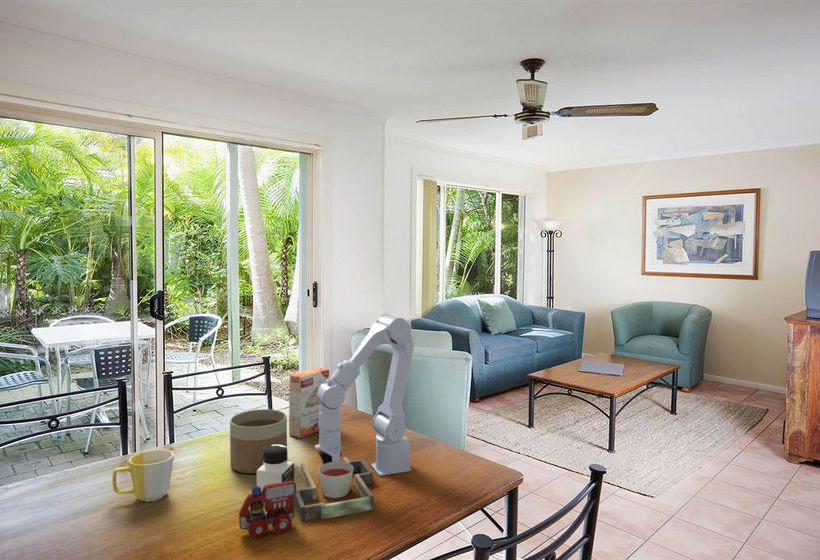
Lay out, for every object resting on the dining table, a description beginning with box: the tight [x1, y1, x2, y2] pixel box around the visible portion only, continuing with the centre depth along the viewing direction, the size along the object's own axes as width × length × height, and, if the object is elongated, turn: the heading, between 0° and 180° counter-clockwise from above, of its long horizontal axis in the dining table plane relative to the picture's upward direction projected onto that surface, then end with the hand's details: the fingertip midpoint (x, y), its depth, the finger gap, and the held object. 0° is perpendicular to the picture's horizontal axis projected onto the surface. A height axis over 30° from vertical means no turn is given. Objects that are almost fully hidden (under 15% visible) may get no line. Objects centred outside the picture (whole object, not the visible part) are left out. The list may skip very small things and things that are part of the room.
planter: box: [229, 408, 288, 474], centre depth 153 cm, size 16×16×14 cm
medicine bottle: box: [256, 444, 295, 492], centre depth 135 cm, size 7×7×12 cm
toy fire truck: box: [238, 480, 297, 539], centre depth 118 cm, size 7×12×10 cm, turn 112°
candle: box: [317, 461, 354, 499], centre depth 136 cm, size 9×9×6 cm
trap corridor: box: [294, 456, 375, 521], centre depth 137 cm, size 22×26×3 cm
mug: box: [111, 448, 175, 503], centre depth 132 cm, size 14×10×10 cm
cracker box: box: [288, 367, 330, 439], centre depth 179 cm, size 14×6×21 cm, turn 147°
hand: (330, 477), depth 142 cm, fingers closed
